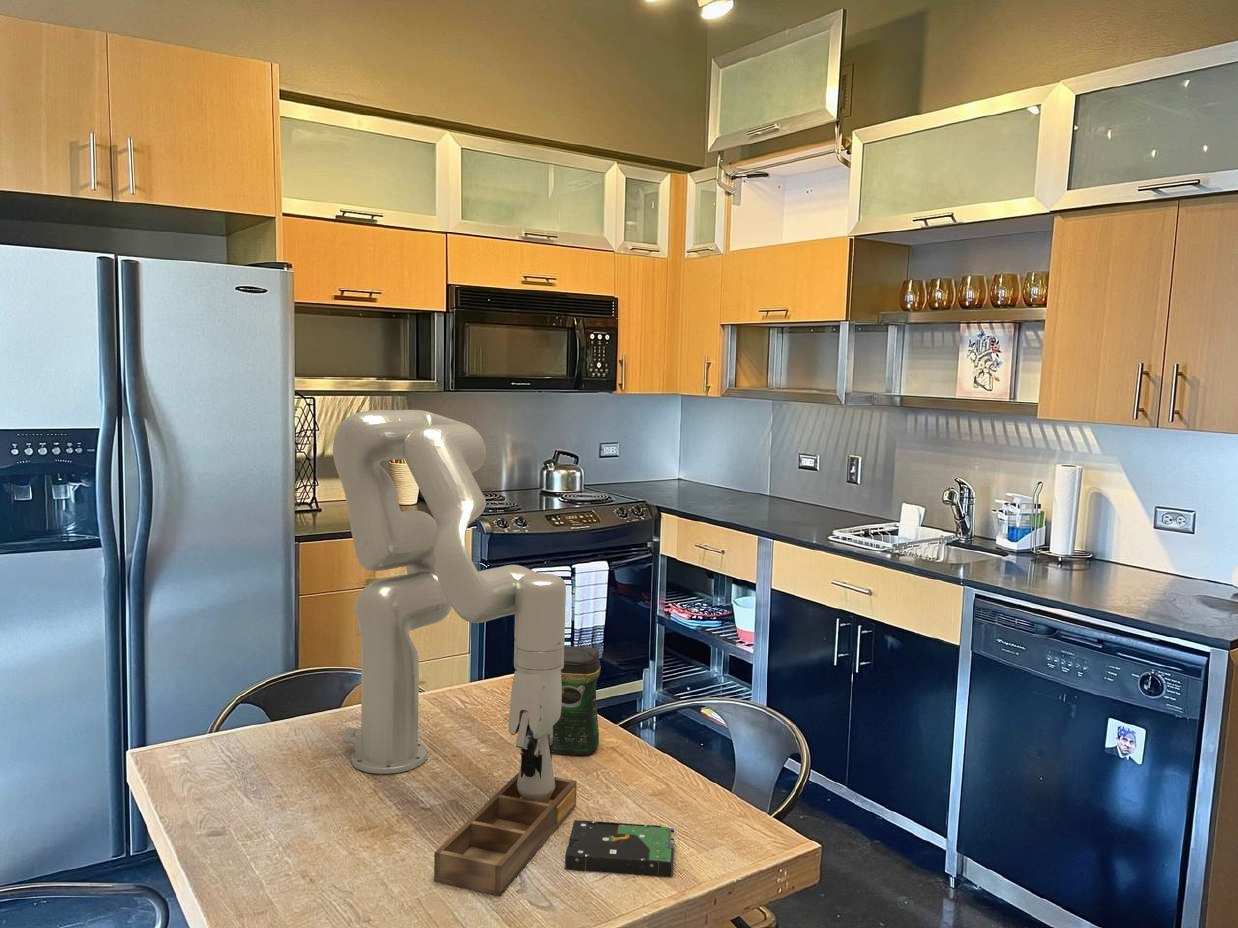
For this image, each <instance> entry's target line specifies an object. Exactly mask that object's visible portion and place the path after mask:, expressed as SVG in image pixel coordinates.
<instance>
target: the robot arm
mask: <svg viewBox="0 0 1238 928" xmlns="http://www.w3.org/2000/svg"><path fill="white" fill-rule="evenodd" d="M334 434H335V435H334V438H333V444H332V454H333V455H332V456H333V462H334V465H335V469H336V472H337V475H338V477H339V480H340V483H341V485H342V489H343V492H344V497H345V502H346V510H347V513H348V514H347V515H348V520H349V525H350V531H351V536H352V542H353V548H354V552H355V556H356V559H357V561H358V563H359V565H360V566H361V567H362V568H363V569H364V570H366V571H369V572H370V571H371V572H382V571H388V570H393V569H399V568H404V567H405V569H406V570H405V571H406V574H400V575H396V576H391V577H387V578H386V577H385V578H383V579H382V578H381V579H378V580H376V581H373V582H372V583H368V584H367V585H366V586H365V587H364V588H362V590H361V591H360V592H359V594H358V596H357V598H356V602H355V615H356V616H355V617H356V622H357V626H358V627H357V628H358V632H359V639H360V653H361V654H360V655H361V664H360V665H361V666H360V667H361V699H360V700H361V701H360V705H361V707H360V711H361V712H360V721H361V723H360V725H361V727H360V728H358V727H351V726H350V727H349V726H347V728H346V729H345V730H344V735H343V737H342V743H344V744H348V745H351V744H352V745H354V746H355V747H354V748H355V749H354V750H353V752H352V753H351V764H352V766H353V767H355V769H358V770H359V771H362V772H365V773H368V774H369V773H370V774H376V775H377V774H378V775H387V774H388V775H389V774H399V773H403V772H407V771H411V770H414V769H415V768H418V767H419V766H421V765H423V763H425V762H426V760H427V757H428V756H427V755H428V749H427V747H426V746H425V745H424V744H423V743H420V742H419V691H420V687H419V686H420V685H419V684H420V683H419V679H420V675H419V674H420V659H419V654H418V653H419V652H418V650H417V647H416V646H415V644H414V642H413V641H412V639H411V637H410V631H413V630H416V629H419V628H422V627H427V626H430V625H433V624H437V623H440V622H441V621H443V620H445V618H447V616H448V615H449V614H450V612H451V611H452V609H453V610H454V612H455V613H456V614H457V615H458V616H459V617H460V618H461V619H462V620H464V621H466V622H468V623H470V624H471V623H472V624H480V623H481V624H482V623H486V622H489V621H493V620H496V619H500V618H502V617H507V616H508V617H509V616H512V615H514V637H513V638H514V641H513V642H514V647H513V648H514V649H513V650H514V651H513V667H514V669H515V670H514V673H513V677H512V685H511V692H510V693H511V694H510V701H509V702H510V704H509V715H508V716H509V719H508V733H509V735H511V736H515V735H516V734H517V736H516V740H515V747H516V748H518V749H519V753H520V758H521V759H520V767H521V778H522V776H523V774H525V776H527V777H533V776H534V775H535V771H536V769H537V771H538V772H539V775H540V779H541V771H542V755H540V745H541V736H542V735H543V734H544V733H546V732H547V730H548V728H549V726H550V725H552V730H551V732H550V734H548V742H549V744H550V745H549V750H550V756H551V762H552V757H553V756H552V755H553V752H552V746H551V744H552V742H553V729H554V724H555V723H556V722H557V721H558V720H559V718H560V715H561V705H562V681H561V669H563V667H564V646H565V637H566V636H565V635H566V602H567V599H566V598H567V586H566V582H565V581H564V579H563V578H562V577H561V576H559V575H557V574H553V573H541V572H537V571H534V570H533V569H532V570H531V569H530V568H527V567H525V566H522V565H519V564H508V565H503V566H499V567H491V568H488V569H487V568H486V569H483V570H479V571H478V569H477V567H476V565H475V564H474V562H473V560H472V557H471V555H470V553H469V550H468V547H467V541H466V540H467V539H466V535H467V530H468V527H469V525H470V524H472V523H473V522H474V521H475V520H477V519H478V518H479V517H480V516H481V514H483V512H484V511H485V508H486V506H487V502H486V498H485V496H484V494H483V491H482V490H481V488H480V486H479V484H478V483H477V481H476V479H475V477H474V475H473V473H474V472H476V471H479V469H481V467H482V466H483V465H484V463H485V460H486V456H487V451H486V449H487V448H486V444H485V441H484V439H483V437H482V435H481V434H480V432H479V431H477V429H475V428H474V427H472V426H471V425H469V424H468V423H465V422H462V421H458V420H455V419H452V418H448V417H446V416H444V415H440V414H436V413H434V412H430V411H427V410H422V409H374V410H372V409H371V410H364V411H360V412H355V413H353V414H351V415H349V416H348V417H346V418H344V419H343V420H342V422H340V424H339V426H338V427H337V429H336V431H335V433H334ZM393 460H396V461H397V460H404V461H405V463H406V465H407V466H408V469H409V471H410V473H411V475H412V477H413V479H414V481H415V483H416V485H417V486H418V489H419V490H420V493H421V495H422V497H423V498H424V501H425V503H426V505H427V506H428V509H429V510H430V513H431V515H430V514H429V513H427V512H425V511H421V510H416V509H415V510H406V511H402V510H401V507H400V502H399V498H398V491H397V487H396V485H395V483H394V481H393V479H392V478H391V476H390V475H389V473H388V472H387V470H386V469H385V468H384V467H382V466H381V462H382V461H393ZM529 731H533V734H529ZM528 739H532V740H535V743H534V744H533V743H532V742H529V741H528Z"/></svg>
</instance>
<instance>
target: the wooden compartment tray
mask: <svg viewBox="0 0 1238 928" xmlns="http://www.w3.org/2000/svg"><path fill="white" fill-rule="evenodd" d="M519 772H520V771H518V772H517V773H516V774H515V775H514V776H512V777H511V779H510V780H509V781H508V782H507V783H506V784H505V785H504V786H502V787H501V788H500V790H499V791H497V792H496V793H495V794H494V795H493V796H491V798H490V799H489V800H487V802H485V804H484V805H482V806H481V808H479V809H478V810H477V811H476V812H475V813H474V814H473V815H472V816H471V817H470V818H469V819H468V820H466V822H464V824H462V825H461V827H459V828H458V829H457V830H456V831H455V832H454V834H452V835H451V836H450V837H449V838H447V840H446V841H445V842H444V843H443V844H442V845H440V846H439V848H437V849H436V850H435V851H434V863H433V865H434V867H433V869H434V870H433V882H436V883H439V884H440V883H441V884H446V885H449V886H455V887H458V888H463V889H467V890H472V891H475V892H480V893H485V894H490V895H493V896H499V897H501V896H503V894H504V893H505V891H506V890H508V888H509V887H510V886H511V884H512V883H513V882H514V880H515V879H516V878H518V876H519V874H520V873H521V872H522V871H523V870H524V869H525V868H526V866H527V865H528V864H529V863H530V862H531V860H532V859H533V858H534V856H535V855H536V854H537V853H538V852H539V850H540V849H541V848H542V847H543V846H544V845H545V843H546V842H547V841H548V840H549V838H550V837H552V835H553V833H555V831H556V830H557V829H558V828H559V827H560V826H561V824H562V823H563V822H564V821H565V820H566V818H567V817H568V815H570V813H572V811H573V810H574V809H575V807H576V806H577V785H578V784H577V780H574V779H569V778H562V777H558V776H554V780H555V789H554V791H553V793H552V795H551V797H550V800H549V802H548V803H542V802H537V801H531V800H526V799H522V798H521V796H520V793H519V791H518V788H517V781H518V776H519Z"/></svg>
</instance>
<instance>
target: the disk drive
mask: <svg viewBox="0 0 1238 928" xmlns="http://www.w3.org/2000/svg"><path fill="white" fill-rule="evenodd" d="M674 855H675V828H673V827H669V826H662V825H657V824H654V825H653V824H642V823H641V824H640V823H625V822H614V821H610V822H609V821H600V820H599V821H597V820H586V819H585V820H583V819H579V820H577V819H575V820H574V821H573V824H572V828H571V832H570V835H569V840H568V846H567V847H566V852H565V857H564V869H565V870H566V871H567V870H568V871H577V872H593V873H595V872H596V873H608V874H622V875H623V874H624V875H633V876H634V875H635V876H637V875H639V876H648V877H664V878H672V877H673V876H674V875H673V874H674V873H673V872H674Z"/></svg>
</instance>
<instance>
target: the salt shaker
mask: <svg viewBox="0 0 1238 928" xmlns="http://www.w3.org/2000/svg"><path fill="white" fill-rule="evenodd" d="M551 730H552V725H550V726H549V728H548V730H547V732H546V733H544V734H543V735H542V736H541V745H540V755H542V771H541V779H540V775H539V772H538V771H537V769H536V771H535V775H534V776H533V777H527V776H525V774H523V776H522V778H521V766H520V768H519V771H518V772H519V776H518V781H517V788H518V791H519V793H520V796H521V798H522V799H526V800H531V801H537V802H542V803H548V802H549V800H550V797H551V795H552V793H553V791H554V789H555V780H554V777H555V775H554V768H553V763H552V762H551V756H550V750H549V742H548V734H550V732H551ZM529 734H533V731H529ZM528 741H529V742H532V743H533V744H534V743H535V740H532V739H528Z"/></svg>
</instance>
